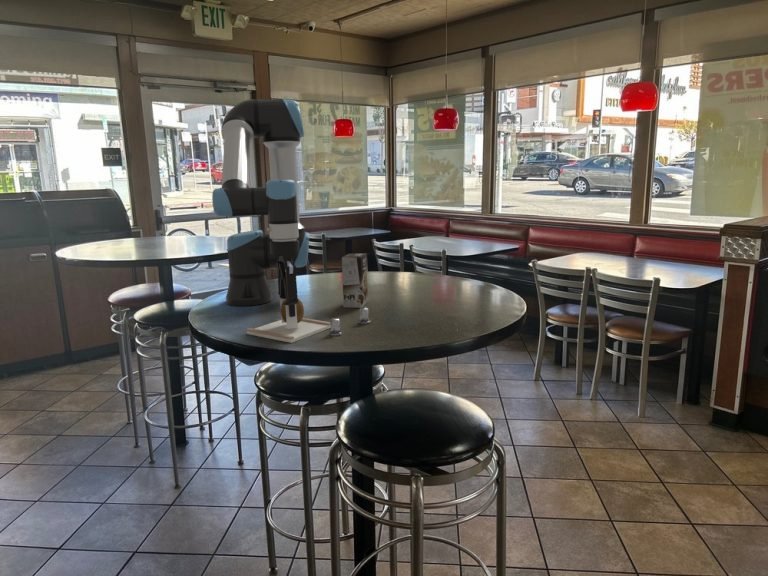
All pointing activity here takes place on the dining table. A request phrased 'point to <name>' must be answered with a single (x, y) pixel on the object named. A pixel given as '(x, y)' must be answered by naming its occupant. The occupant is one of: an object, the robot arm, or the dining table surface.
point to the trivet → (290, 330)
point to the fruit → (299, 311)
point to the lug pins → (336, 322)
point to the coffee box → (355, 280)
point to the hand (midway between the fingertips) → (289, 324)
